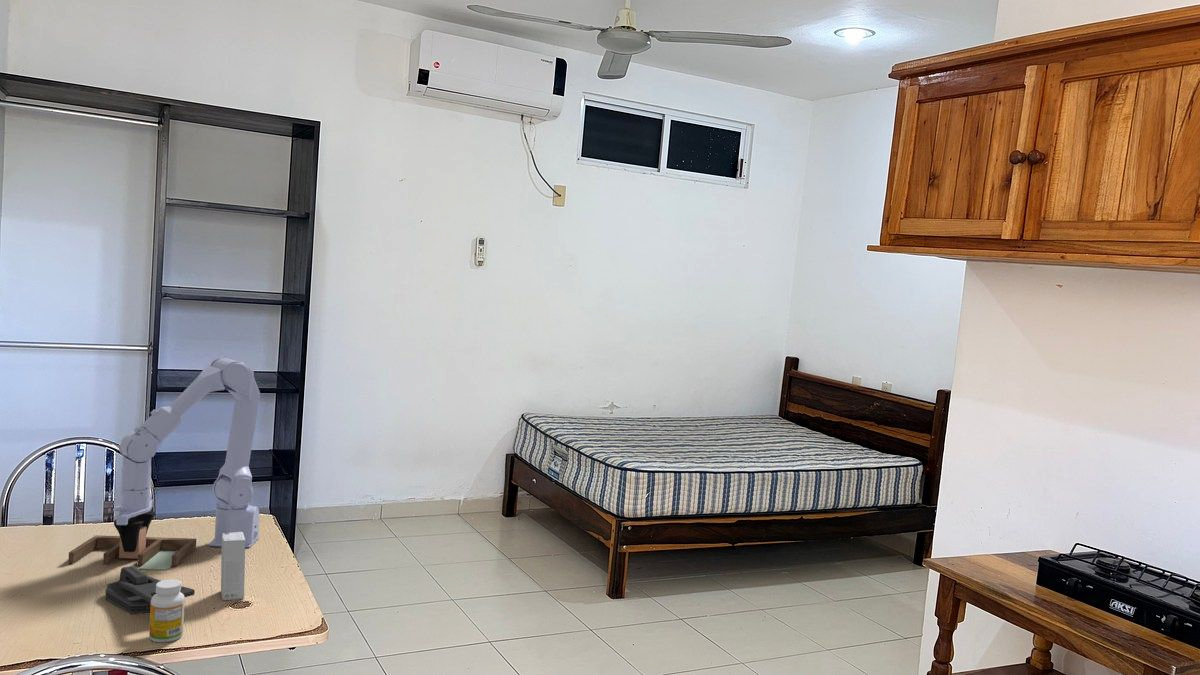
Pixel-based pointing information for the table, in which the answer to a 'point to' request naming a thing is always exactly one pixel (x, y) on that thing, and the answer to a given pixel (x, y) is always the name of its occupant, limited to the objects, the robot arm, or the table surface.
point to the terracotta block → (140, 546)
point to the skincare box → (232, 566)
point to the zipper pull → (135, 591)
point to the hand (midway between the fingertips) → (133, 548)
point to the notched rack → (147, 558)
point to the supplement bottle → (167, 612)
